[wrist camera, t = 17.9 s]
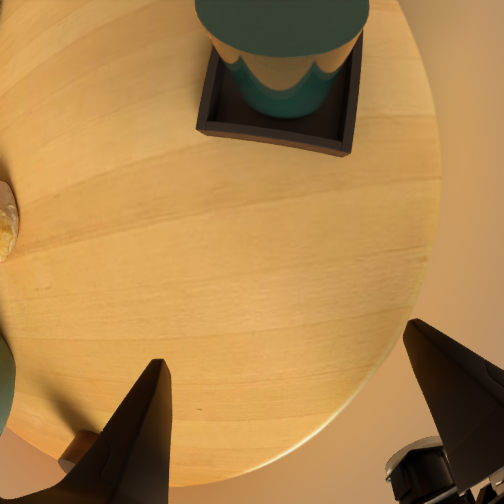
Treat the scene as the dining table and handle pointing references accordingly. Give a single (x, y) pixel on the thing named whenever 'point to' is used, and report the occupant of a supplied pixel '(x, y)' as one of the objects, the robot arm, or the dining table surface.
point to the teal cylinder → (283, 49)
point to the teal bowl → (6, 383)
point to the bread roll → (7, 220)
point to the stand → (76, 449)
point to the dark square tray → (283, 132)
